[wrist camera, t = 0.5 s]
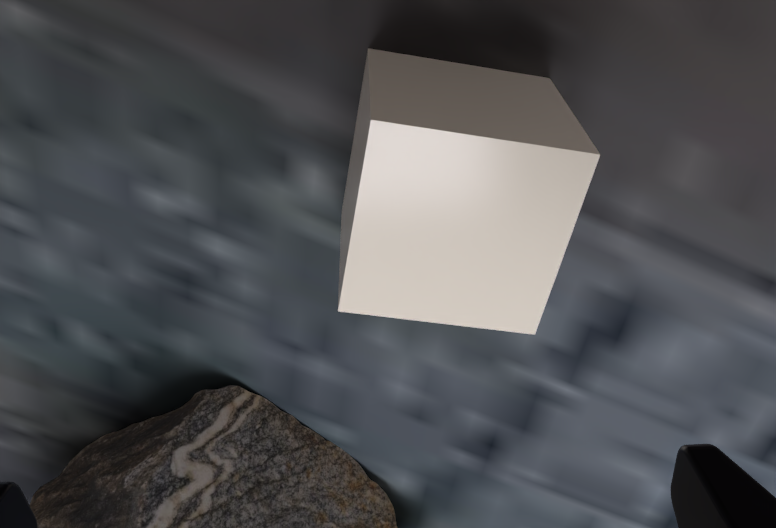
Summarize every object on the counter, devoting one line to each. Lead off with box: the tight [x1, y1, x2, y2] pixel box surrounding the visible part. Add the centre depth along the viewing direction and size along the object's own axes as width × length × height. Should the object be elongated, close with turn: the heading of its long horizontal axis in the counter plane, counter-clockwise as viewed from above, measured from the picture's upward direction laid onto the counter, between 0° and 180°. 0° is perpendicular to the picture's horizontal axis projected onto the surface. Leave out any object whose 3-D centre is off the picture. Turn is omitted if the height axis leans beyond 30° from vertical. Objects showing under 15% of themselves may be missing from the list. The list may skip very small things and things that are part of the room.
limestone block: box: [338, 48, 600, 335], centre depth 19 cm, size 5×5×5 cm
